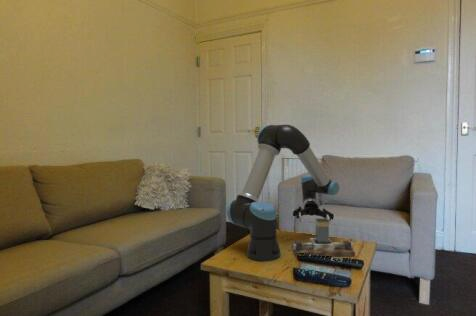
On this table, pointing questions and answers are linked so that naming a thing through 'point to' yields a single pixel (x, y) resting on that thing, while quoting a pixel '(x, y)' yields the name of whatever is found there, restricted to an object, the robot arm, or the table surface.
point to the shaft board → (324, 248)
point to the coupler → (322, 231)
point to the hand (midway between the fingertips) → (314, 220)
